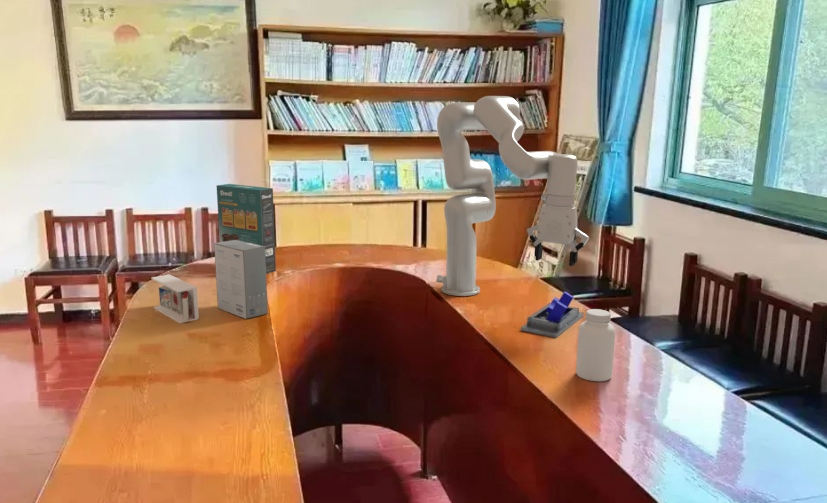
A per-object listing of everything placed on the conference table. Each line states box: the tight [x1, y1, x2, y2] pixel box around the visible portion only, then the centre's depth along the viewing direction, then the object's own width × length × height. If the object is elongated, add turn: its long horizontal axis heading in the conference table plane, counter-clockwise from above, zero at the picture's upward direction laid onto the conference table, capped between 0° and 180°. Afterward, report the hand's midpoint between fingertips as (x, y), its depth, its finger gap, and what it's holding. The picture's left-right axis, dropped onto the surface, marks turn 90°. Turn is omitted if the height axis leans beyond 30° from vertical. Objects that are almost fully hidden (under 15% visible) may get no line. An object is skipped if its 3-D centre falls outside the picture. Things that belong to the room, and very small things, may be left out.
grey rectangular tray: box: [520, 302, 585, 339], centre depth 188 cm, size 10×22×3 cm, turn 148°
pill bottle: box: [575, 308, 616, 382], centre depth 151 cm, size 8×8×15 cm
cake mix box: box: [216, 183, 277, 275], centre depth 243 cm, size 22×6×30 cm, turn 58°
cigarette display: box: [151, 273, 200, 324], centre depth 193 cm, size 20×6×9 cm, turn 42°
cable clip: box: [546, 291, 575, 322], centre depth 187 cm, size 12×4×6 cm, turn 157°
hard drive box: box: [213, 240, 269, 320], centre depth 194 cm, size 16×8×20 cm, turn 47°
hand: (555, 262), depth 185 cm, fingers open, 9 cm apart
